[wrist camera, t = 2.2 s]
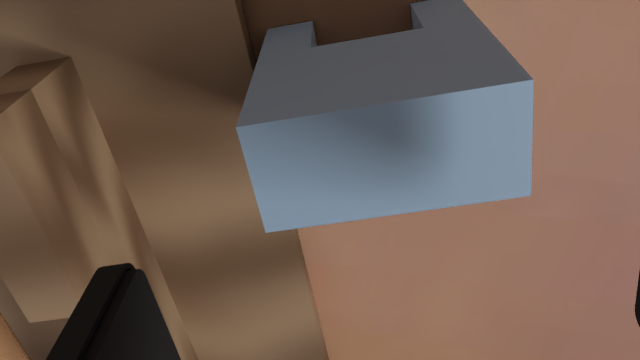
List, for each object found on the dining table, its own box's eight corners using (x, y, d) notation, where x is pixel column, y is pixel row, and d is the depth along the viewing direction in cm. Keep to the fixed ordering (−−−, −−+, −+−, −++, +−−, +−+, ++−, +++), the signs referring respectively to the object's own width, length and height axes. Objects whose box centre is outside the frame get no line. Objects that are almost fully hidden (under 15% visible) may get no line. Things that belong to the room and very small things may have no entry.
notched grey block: (285, 106, 21) (265, 233, 14) (267, 28, 19) (235, 127, 13) (461, 78, 20) (531, 195, 13) (457, -5, 19) (533, 79, 12)
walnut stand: (-171, 3, 19) (-377, 66, 14) (221, -75, 18) (173, -40, 12) (94, 432, 31) (43, 559, 26) (340, 405, 30) (343, 533, 24)
